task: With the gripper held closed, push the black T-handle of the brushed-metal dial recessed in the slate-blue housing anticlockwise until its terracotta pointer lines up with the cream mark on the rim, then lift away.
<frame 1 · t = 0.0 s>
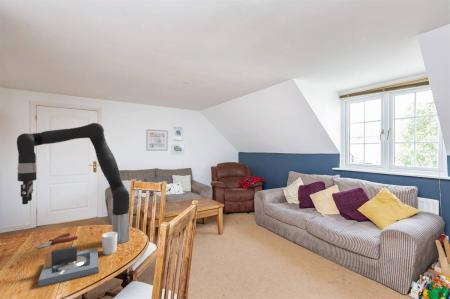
hand: (27, 202, 119), 29 cm above the table, fingers open, 8 cm apart
white cup: (109, 252, 127), on the table
dial: (66, 258, 109), point 5 cm above the table, hinge at 0.0°
pliers: (57, 242, 141), on the table
housing: (71, 268, 110), on the table
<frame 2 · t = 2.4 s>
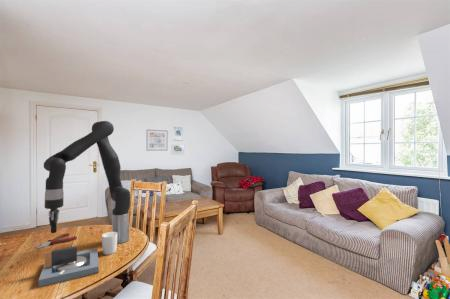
hand: (53, 232, 113), 16 cm above the table, fingers closed
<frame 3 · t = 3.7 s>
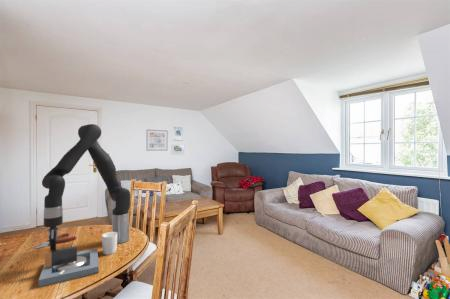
hand: (53, 250, 112), 7 cm above the table, fingers closed
nothing on the table moved.
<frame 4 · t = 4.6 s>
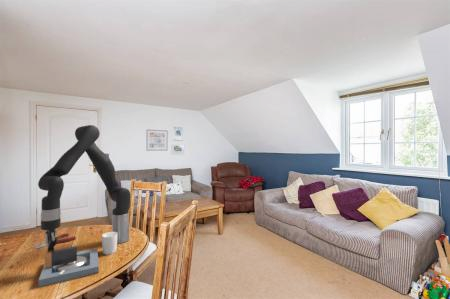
hand: (50, 254, 108), 8 cm above the table, fingers closed
dial: (66, 258, 109), point 5 cm above the table, hinge at 1.0°, touching gripper
everything else where it was.
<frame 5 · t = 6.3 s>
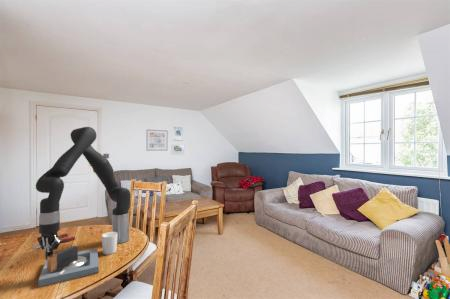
hand: (49, 258, 104), 8 cm above the table, fingers closed
dial: (67, 259, 108), point 5 cm above the table, hinge at 38.0°, touching gripper
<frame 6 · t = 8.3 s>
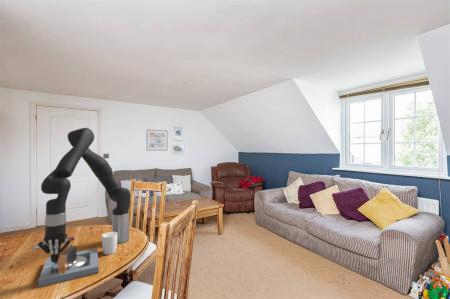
hand: (55, 261, 101), 8 cm above the table, fingers closed
dial: (69, 259, 108), point 5 cm above the table, hinge at 71.2°, touching gripper
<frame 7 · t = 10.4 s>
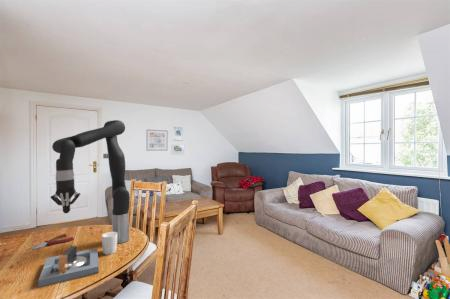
hand: (66, 212, 115), 25 cm above the table, fingers closed
dial: (69, 259, 108), point 5 cm above the table, hinge at 71.5°
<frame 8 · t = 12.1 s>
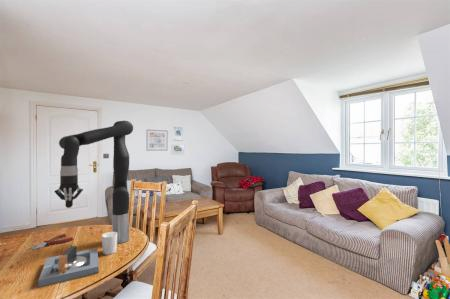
hand: (69, 207, 119), 27 cm above the table, fingers closed
at the end: dial at +72° (first picture: +0°) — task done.
